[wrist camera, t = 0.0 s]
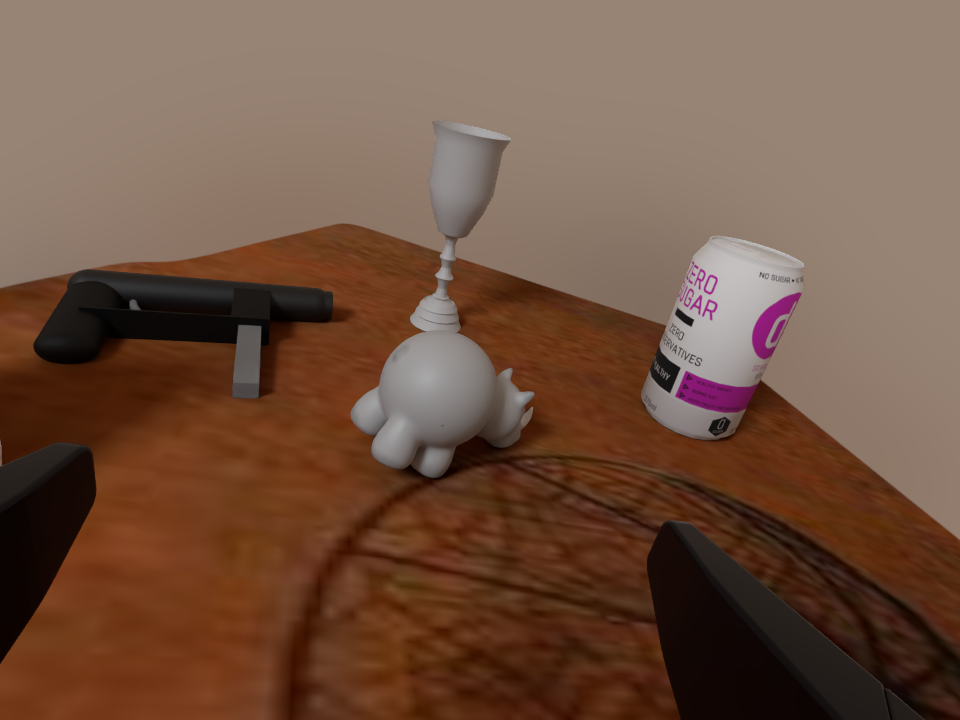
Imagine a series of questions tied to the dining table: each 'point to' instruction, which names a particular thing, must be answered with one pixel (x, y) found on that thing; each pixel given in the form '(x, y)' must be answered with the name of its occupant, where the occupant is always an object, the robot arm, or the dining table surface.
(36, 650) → the dining table surface
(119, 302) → the toy submachine gun
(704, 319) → the supplement can
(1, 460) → the honey pot
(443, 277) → the chalice
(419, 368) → the round bodied animal figurine
